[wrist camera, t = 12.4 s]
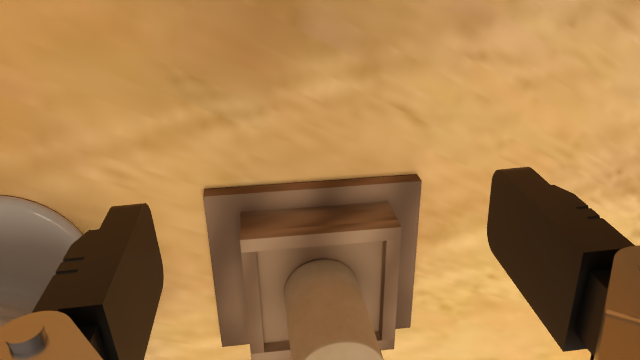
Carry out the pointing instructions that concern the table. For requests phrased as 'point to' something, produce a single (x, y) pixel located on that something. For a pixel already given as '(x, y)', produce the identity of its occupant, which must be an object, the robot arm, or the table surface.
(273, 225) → the display pedestal
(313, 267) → the candle
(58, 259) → the mannequin bust
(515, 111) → the table surface
